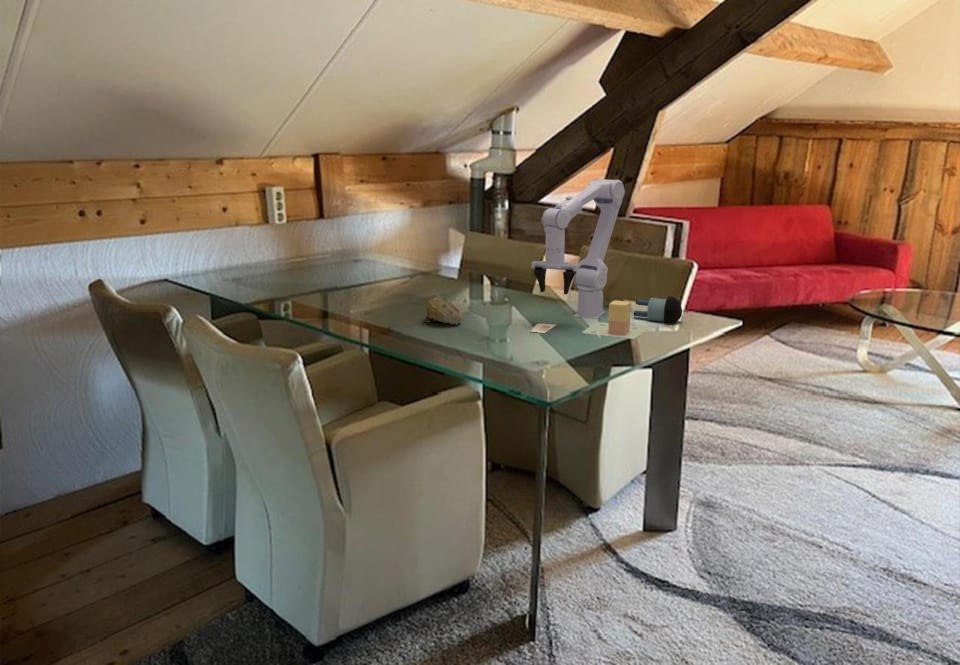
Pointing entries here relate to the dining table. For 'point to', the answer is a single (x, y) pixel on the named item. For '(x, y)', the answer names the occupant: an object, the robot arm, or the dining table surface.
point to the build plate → (602, 329)
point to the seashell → (442, 311)
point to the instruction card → (542, 328)
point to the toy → (660, 309)
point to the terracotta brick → (619, 327)
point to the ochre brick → (619, 311)
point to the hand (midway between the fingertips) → (554, 292)
